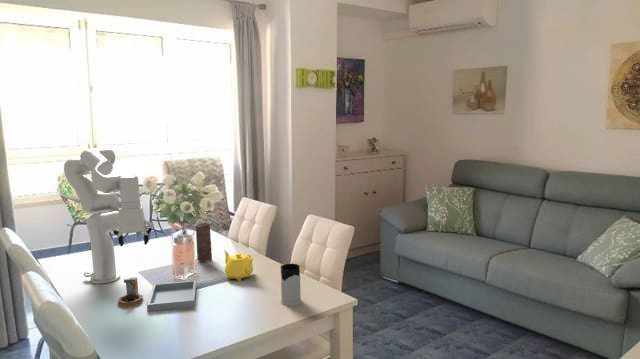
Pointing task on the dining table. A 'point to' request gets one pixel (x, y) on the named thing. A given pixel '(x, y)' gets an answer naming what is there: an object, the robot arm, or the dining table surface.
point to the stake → (129, 288)
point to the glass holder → (290, 285)
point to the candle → (203, 242)
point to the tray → (172, 296)
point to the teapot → (238, 266)
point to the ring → (135, 296)
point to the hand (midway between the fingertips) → (134, 244)
